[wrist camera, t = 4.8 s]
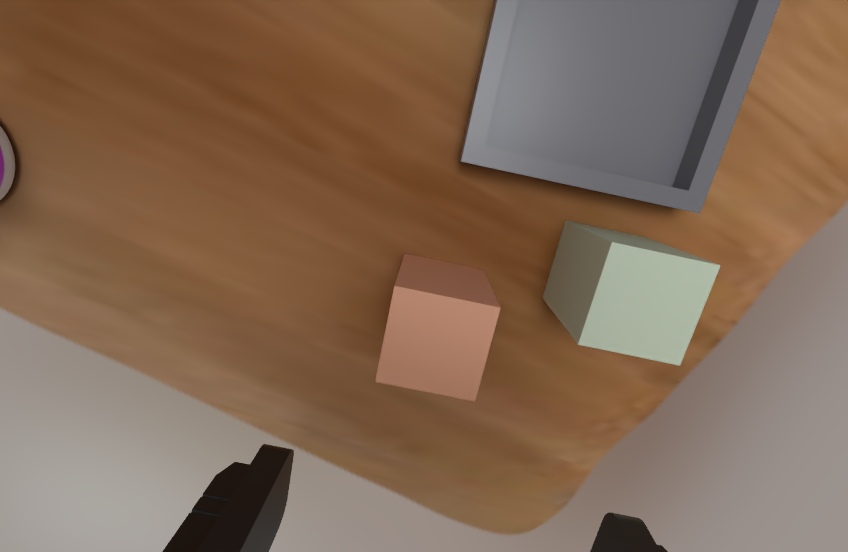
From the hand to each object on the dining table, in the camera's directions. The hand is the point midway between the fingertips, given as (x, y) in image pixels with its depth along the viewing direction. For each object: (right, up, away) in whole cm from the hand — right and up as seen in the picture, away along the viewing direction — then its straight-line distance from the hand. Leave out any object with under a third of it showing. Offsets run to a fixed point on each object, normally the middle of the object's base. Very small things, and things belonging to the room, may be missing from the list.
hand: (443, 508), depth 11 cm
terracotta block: (0, +4, +16) cm, 17 cm away
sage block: (+10, +6, +16) cm, 20 cm away
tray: (+9, +17, +13) cm, 23 cm away
